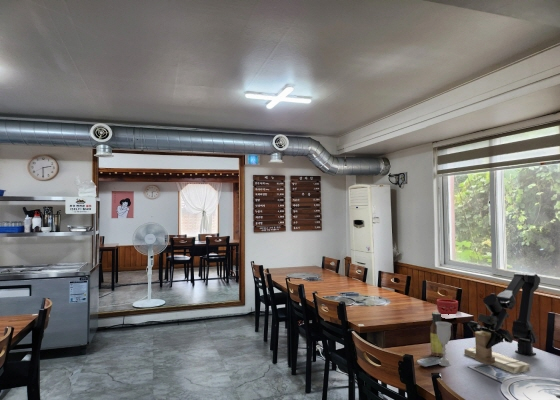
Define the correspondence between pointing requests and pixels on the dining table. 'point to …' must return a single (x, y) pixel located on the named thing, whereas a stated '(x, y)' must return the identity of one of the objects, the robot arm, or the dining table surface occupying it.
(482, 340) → the tan pillar on plinth
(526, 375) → the dining table surface
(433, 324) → the sauce bottle
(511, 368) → the board
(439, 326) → the chalice
